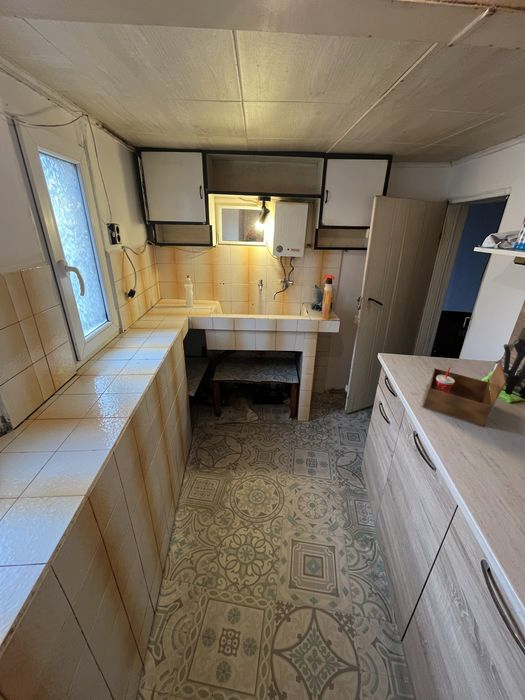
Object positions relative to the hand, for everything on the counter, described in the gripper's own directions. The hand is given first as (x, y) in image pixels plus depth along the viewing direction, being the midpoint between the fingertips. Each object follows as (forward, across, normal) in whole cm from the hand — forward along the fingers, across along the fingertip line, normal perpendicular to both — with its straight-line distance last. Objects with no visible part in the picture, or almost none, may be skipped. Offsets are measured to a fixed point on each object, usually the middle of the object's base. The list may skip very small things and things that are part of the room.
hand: (507, 392), depth 99 cm
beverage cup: (+11, -19, 0) cm, 21 cm away
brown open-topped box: (+11, -14, 0) cm, 17 cm away
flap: (-3, -4, 0) cm, 5 cm away
